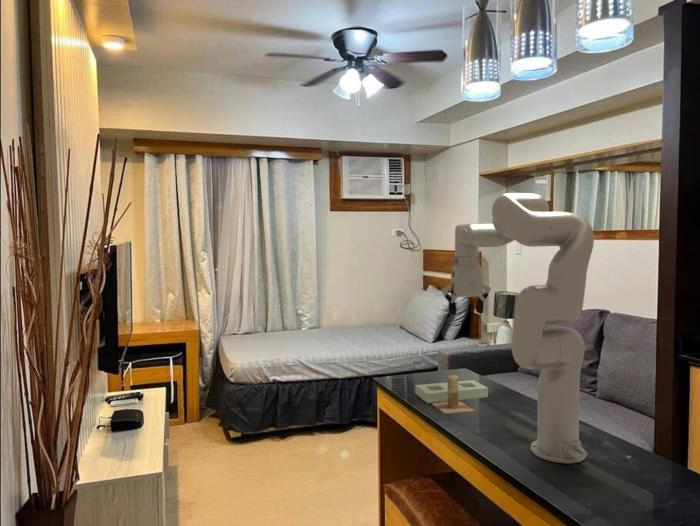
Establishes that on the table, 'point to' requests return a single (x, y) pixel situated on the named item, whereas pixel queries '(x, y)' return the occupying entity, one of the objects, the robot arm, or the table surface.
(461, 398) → the hole block
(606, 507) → the table surface
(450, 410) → the cork mat
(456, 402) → the peg
